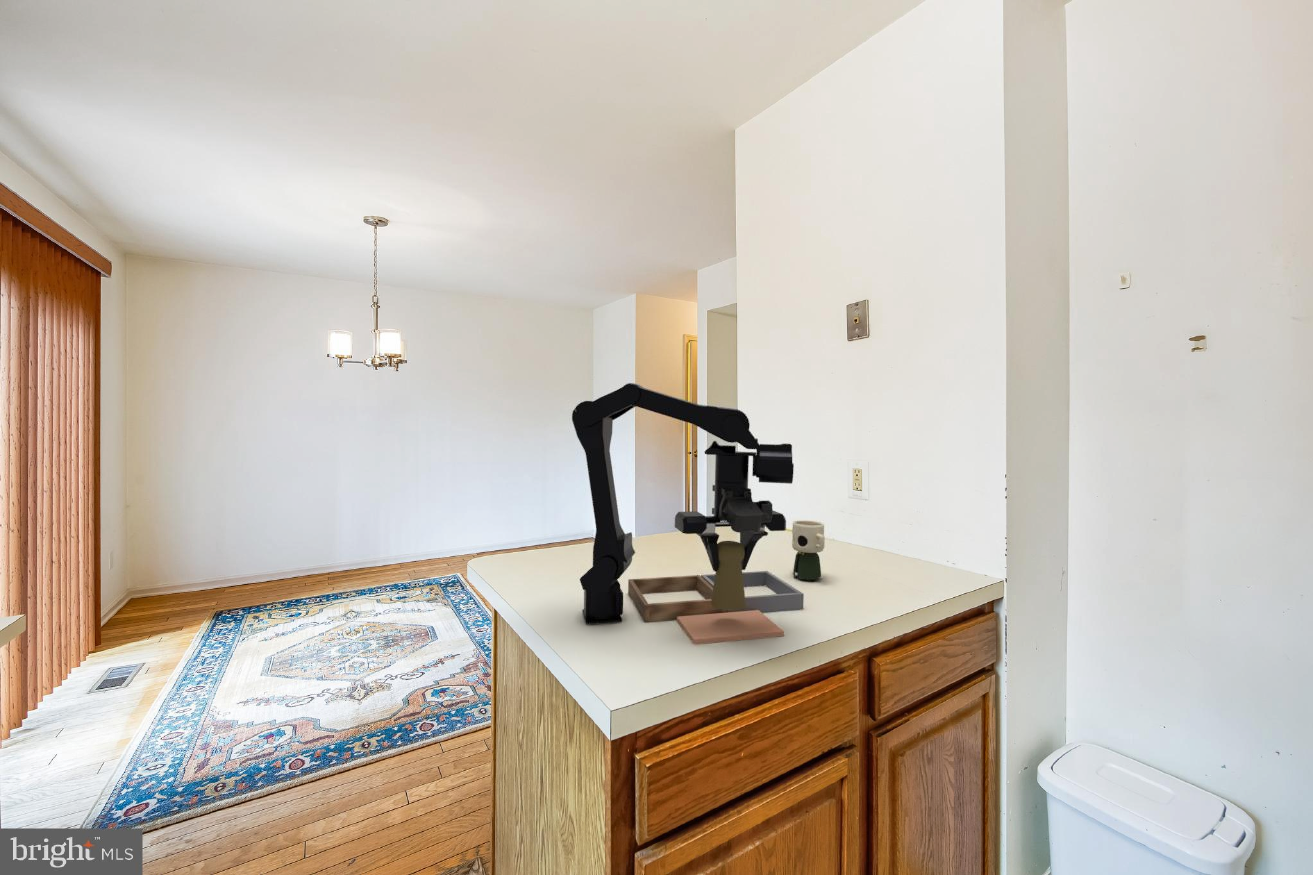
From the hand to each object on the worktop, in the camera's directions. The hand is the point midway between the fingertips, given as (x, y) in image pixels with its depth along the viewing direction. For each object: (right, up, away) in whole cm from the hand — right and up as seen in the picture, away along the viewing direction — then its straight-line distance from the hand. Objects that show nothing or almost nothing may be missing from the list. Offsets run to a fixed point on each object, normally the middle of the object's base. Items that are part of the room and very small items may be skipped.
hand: (729, 570), depth 90 cm
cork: (0, -6, 0) cm, 6 cm away
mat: (0, -10, 0) cm, 10 cm away
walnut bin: (-9, -10, +12) cm, 18 cm away
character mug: (+22, -10, +30) cm, 39 cm away
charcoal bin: (+6, -10, +16) cm, 20 cm away
